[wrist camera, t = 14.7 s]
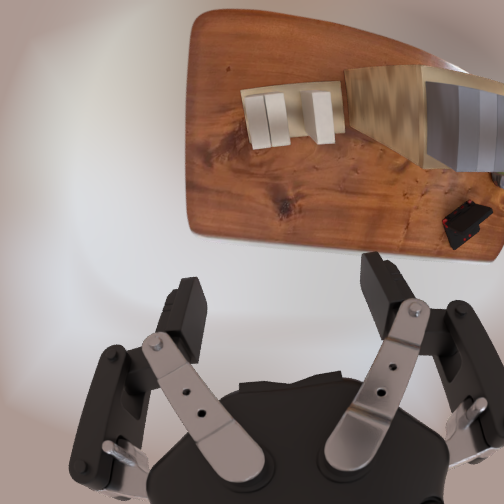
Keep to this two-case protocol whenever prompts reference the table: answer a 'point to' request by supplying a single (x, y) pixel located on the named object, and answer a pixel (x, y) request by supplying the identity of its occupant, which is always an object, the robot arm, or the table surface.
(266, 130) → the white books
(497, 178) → the beverage can
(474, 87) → the wooden stand
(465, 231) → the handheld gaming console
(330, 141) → the white book
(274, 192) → the table surface
